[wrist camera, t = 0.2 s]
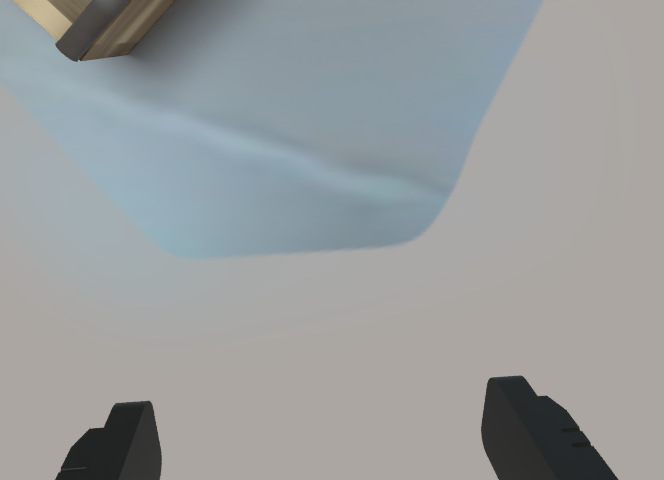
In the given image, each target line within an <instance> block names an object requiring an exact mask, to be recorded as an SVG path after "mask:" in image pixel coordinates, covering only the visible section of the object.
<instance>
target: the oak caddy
mask: <svg viewBox="0 0 664 480" xmlns="http://www.w3.org/2000/svg"><path fill="white" fill-rule="evenodd" d="M13 1H14V2H16V3H17V4H18V5H19V6H20V7H21V8H22V9H23V10H24V11H26V12H27V13H28V14H29V15H30V16H31V17H32V18H33V19H35V20H36V21H37V22H38V23H39V24H40V25H41V26H42V27H43V28H45V29H46V30H47V31H48V32H49V33H50V34H51V35H52V36H53V37H55V38H56V39H57V40H58V42H57V43H56V47H57V48H58V50H59V51H60V52H61V53H63V54H64V55H65V56H66V57H68V58H69V59H71V60H73V61H76V62H77V61H78V60H80V61H85V60H93V59H100V58H108V57H116V56H123V55H128V54H129V52H130V51H131V50H132V49H133V48H134V47H135V46H136V44H137V43H138V42H139V41H140V40H141V39H142V38H143V36H144V35H145V34H146V33H147V32H148V31H149V30H150V28H151V27H152V26H153V25H154V24H155V23H156V22H157V20H158V19H159V18H160V17H161V16H162V15H163V14H164V13H165V11H166V10H167V9H168V8H169V7H170V6H171V5H172V3H173V2H174V1H175V0H13Z"/></svg>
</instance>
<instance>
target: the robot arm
mask: <svg viewBox="0 0 664 480" xmlns="http://www.w3.org/2000/svg"><path fill="white" fill-rule="evenodd" d="M481 433H482V441H483V445H484V449H485V452H486V454H487V456H488V458H489V460H490V462H491V464H492V466H493V468H494V471H495V473H496V475H497V477H498V479H499V480H618V478H617V477H616V476H615V474H614V473H613V472H612V470H611V469H610V468H609V467H608V465H607V464H606V462H605V461H604V460H603V458H602V457H601V456H600V454H599V453H598V452H597V450H596V449H595V448H594V447H593V446H591V444H590V441H589V440H588V438H587V437H586V436H585V435H584V433H583V432H582V431H580V429H579V426H578V425H577V424H576V422H575V421H574V420H573V418H572V417H571V416H570V414H569V413H568V412H567V410H565V409H564V408H563V407H561V406H560V405H559V404H557V403H556V402H555V401H553V400H552V399H551V398H549V397H548V396H537V395H536V393H535V392H534V391H533V389H532V388H531V386H530V385H529V383H528V382H527V381H526V379H525V378H524V377H523V376H507V377H494V378H490V379H489V380H488V383H487V389H486V397H485V404H484V411H483V418H482V426H481ZM161 457H162V456H161V448H160V442H159V437H158V432H157V426H156V422H155V416H154V410H153V406H152V403H151V402H150V401H141V402H127V403H116V404H115V405H114V406H113V408H112V410H111V412H110V415H109V417H108V419H107V421H106V424H105V426H104V428H93V429H89V430H88V431H87V432H86V433H85V434H84V435H83V436H82V437H81V438H80V439H79V440H78V441H77V442H76V443H75V444H74V445H73V446H72V447H71V449H70V451H69V453H68V455H67V457H66V459H65V461H64V463H63V465H62V467H61V472H59V473H58V475H57V477H56V479H55V480H160V475H161V464H162V463H161V461H162V458H161Z"/></svg>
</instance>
